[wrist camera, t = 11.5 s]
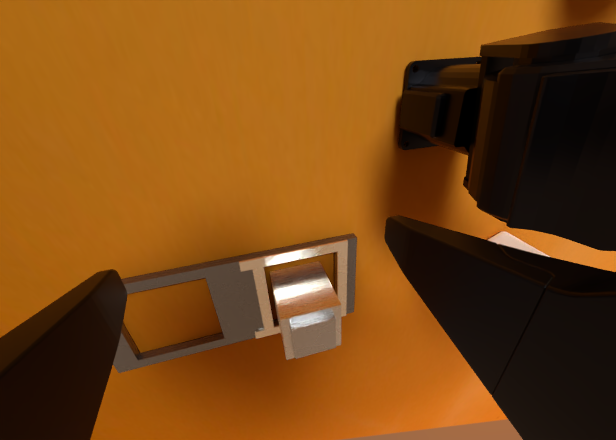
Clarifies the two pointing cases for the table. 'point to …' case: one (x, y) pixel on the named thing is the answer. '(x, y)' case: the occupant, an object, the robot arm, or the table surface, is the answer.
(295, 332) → the grey upright rectangular block
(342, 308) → the rail
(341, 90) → the table surface
